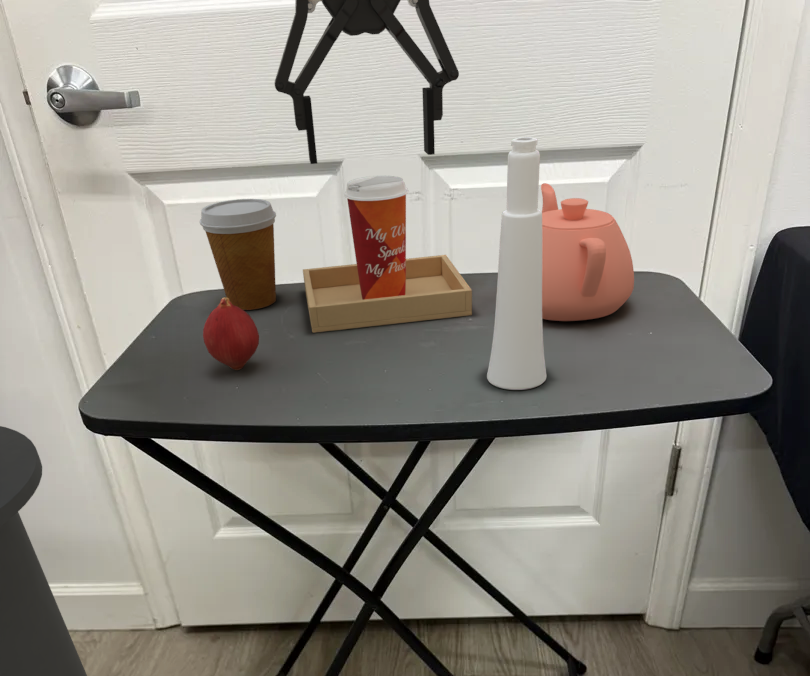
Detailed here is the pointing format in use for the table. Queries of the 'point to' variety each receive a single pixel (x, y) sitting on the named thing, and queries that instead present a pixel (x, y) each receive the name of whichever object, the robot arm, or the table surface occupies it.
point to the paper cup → (379, 234)
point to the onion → (230, 335)
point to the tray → (424, 297)
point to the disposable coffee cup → (243, 249)
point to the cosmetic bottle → (519, 277)
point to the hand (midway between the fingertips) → (371, 157)
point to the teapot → (582, 261)
